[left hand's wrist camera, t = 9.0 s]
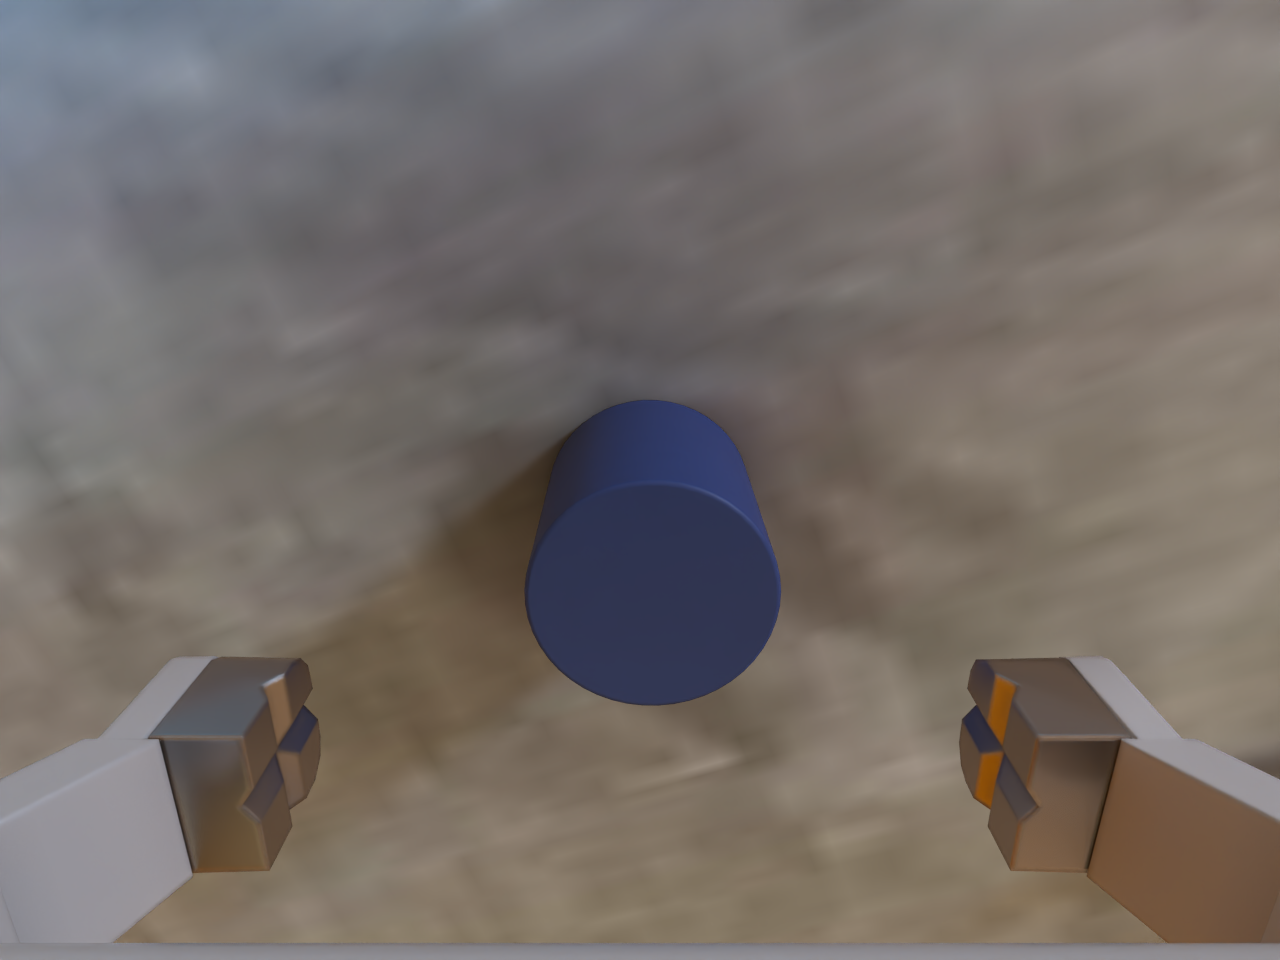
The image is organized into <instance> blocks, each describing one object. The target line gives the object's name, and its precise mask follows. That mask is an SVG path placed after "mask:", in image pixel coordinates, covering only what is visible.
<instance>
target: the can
mask: <svg viewBox="0 0 1280 960" xmlns="http://www.w3.org/2000/svg"><path fill="white" fill-rule="evenodd" d="M780 597H781V585H780V575H779V570H778V565H777V561H776V558H775V555H774V552H773V549H772V546H771V543H770V540H769V537H768V534H767V531H766V528H765V525H764V522H763V519H762V516H761V513H760V511H759V508H758V505H757V502H756V499H755V496H754V493H753V490H752V487H751V484H750V481H749V478H748V475H747V472H746V469H745V466H744V463H743V461H742V458H741V455H740V454H739V452H738V450H737V448H736V446H735V445H734V443H733V442H732V441H731V439H730V438H729V437H728V435H727V434H726V433H725V432H724V431H723V430H722V429H721V428H720V427H719V426H718V425H717V424H715V423H714V422H713V421H712V420H710V419H709V418H708V417H706V416H704V415H702V414H701V413H699V412H697V411H695V410H693V409H690V408H688V407H686V406H683V405H679V404H676V403H672V402H666V401H658V400H641V401H633V402H627V403H623V404H619V405H616V406H613V407H611V408H608V409H606V410H603V411H602V412H600V413H598V414H596V415H594V416H592V417H591V418H590V419H588V420H587V421H586V422H584V423H583V424H582V425H581V426H580V427H578V428H577V429H576V430H575V431H574V432H573V433H572V435H571V436H570V437H569V438H568V440H567V441H566V442H565V443H564V445H563V447H562V449H561V450H560V452H559V454H558V456H557V458H556V461H555V463H554V466H553V469H552V473H551V477H550V481H549V485H548V489H547V493H546V497H545V501H544V505H543V509H542V513H541V517H540V521H539V525H538V529H537V533H536V537H535V541H534V545H533V549H532V553H531V557H530V561H529V565H528V569H527V573H526V580H525V606H526V611H527V617H528V620H529V623H530V626H531V629H532V632H533V634H534V636H535V638H536V640H537V642H538V644H539V646H540V647H541V648H542V650H543V651H544V653H545V654H546V656H547V657H548V658H549V660H550V661H551V662H552V663H553V664H554V665H555V666H556V667H557V668H558V669H559V670H560V671H561V672H562V673H563V674H564V675H566V676H567V677H568V678H569V679H570V680H572V681H573V682H575V683H576V684H578V685H580V686H581V687H583V688H584V689H586V690H589V691H591V692H593V693H595V694H597V695H599V696H602V697H605V698H608V699H611V700H614V701H619V702H623V703H627V704H636V705H668V704H676V703H680V702H685V701H690V700H693V699H696V698H699V697H702V696H705V695H707V694H709V693H711V692H713V691H715V690H717V689H719V688H721V687H723V686H724V685H726V684H727V683H729V682H731V681H732V680H733V679H735V678H736V677H737V676H738V675H740V674H741V673H742V672H743V671H744V670H745V669H746V668H747V667H748V666H749V665H750V664H751V663H752V662H753V661H754V660H755V659H756V657H757V656H758V655H759V653H760V652H761V651H762V649H763V648H764V646H765V644H766V642H767V641H768V639H769V637H770V635H771V633H772V631H773V628H774V625H775V623H776V620H777V616H778V612H779V607H780Z"/></svg>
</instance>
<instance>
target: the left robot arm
mask: <svg viewBox="0 0 1280 960" xmlns="http://www.w3.org/2000/svg"><path fill="white" fill-rule="evenodd" d="M312 689H313V688H312V683H311V678H310V673H309V668H308V665H307V664H306V663H305V662H304V661H303V660H302V659H301V658H265V657H216V656H188V657H177V658H174V659H170V660H169V661H168V662H167V663H166V664H165V665H164V667H163V668H162V669H161V670H160V671H159V672H158V673H157V674H156V675H155V676H154V677H153V679H152V680H151V681H150V682H149V683H148V684H147V685H146V686H145V687H144V688H143V690H142V691H141V692H140V693H139V694H138V695H137V696H136V697H135V698H134V699H133V701H132V702H131V703H130V704H129V705H128V706H127V707H126V708H125V709H124V710H123V712H122V713H121V714H120V715H119V716H118V717H117V718H116V719H115V720H114V721H113V723H112V724H111V725H110V726H109V727H108V728H107V729H106V730H105V731H104V732H103V734H102V735H101V736H100V737H99V738H98V739H83V740H81V741H79V742H77V743H75V744H73V745H71V746H68V747H66V748H64V749H62V750H60V751H58V752H56V753H54V754H52V755H50V756H48V757H46V758H44V759H42V760H39V761H37V762H35V763H33V764H31V765H29V766H27V767H25V768H23V769H21V770H19V771H17V772H15V773H13V774H10V775H8V776H6V777H4V778H2V779H0V960H1280V779H1278V778H1276V777H1273V776H1271V775H1269V774H1267V773H1265V772H1263V771H1261V770H1259V769H1257V768H1255V767H1253V766H1251V765H1249V764H1247V763H1245V762H1242V761H1240V760H1238V759H1236V758H1234V757H1232V756H1230V755H1228V754H1226V753H1224V752H1222V751H1220V750H1218V749H1216V748H1214V747H1212V746H1209V745H1207V744H1205V743H1203V742H1201V741H1199V740H1197V739H1182V738H1181V737H1180V736H1179V735H1178V734H1177V732H1176V731H1175V730H1174V729H1173V728H1172V727H1171V726H1170V725H1169V724H1168V723H1167V721H1166V720H1165V719H1164V718H1163V717H1162V716H1161V715H1160V714H1159V713H1158V712H1157V710H1156V709H1155V708H1154V707H1153V706H1152V705H1151V704H1150V703H1149V702H1148V701H1147V699H1146V698H1145V697H1144V696H1143V695H1142V694H1141V693H1140V692H1139V691H1138V690H1137V688H1136V687H1135V686H1134V685H1133V684H1132V683H1131V682H1130V681H1129V680H1128V679H1127V677H1126V676H1125V675H1124V674H1123V673H1122V672H1121V671H1120V670H1119V669H1118V668H1117V666H1116V665H1115V664H1114V663H1113V662H1112V661H1111V660H1109V659H1107V658H1104V657H1102V656H1081V657H1059V658H1025V659H977V660H976V661H975V663H974V665H973V667H972V669H971V671H970V677H969V682H968V687H967V689H968V691H969V692H970V694H971V696H972V698H973V699H974V701H975V703H976V704H977V705H976V706H975V707H974V708H973V709H972V710H971V711H970V712H969V713H968V714H967V715H966V716H965V717H964V718H963V719H962V724H961V732H960V740H959V747H960V759H961V767H962V770H963V774H964V777H965V781H966V783H967V785H968V788H969V790H970V792H971V794H972V796H973V798H974V799H976V800H977V801H979V802H980V803H982V804H983V805H984V806H986V807H987V808H989V809H990V816H989V822H988V828H989V830H990V832H991V834H992V835H993V837H994V839H995V841H996V843H997V845H998V847H999V849H1000V851H1001V853H1002V855H1003V857H1004V859H1005V861H1006V863H1007V865H1008V867H1009V869H1010V870H1011V871H1041V872H1077V873H1087V877H1088V878H1089V879H1091V880H1092V881H1093V882H1094V883H1096V884H1097V885H1098V886H1099V887H1100V888H1102V889H1103V890H1104V891H1105V892H1107V893H1108V894H1109V895H1110V896H1111V897H1113V898H1114V899H1115V900H1116V901H1117V902H1119V903H1120V904H1121V905H1122V906H1124V907H1125V908H1126V909H1127V910H1128V911H1130V912H1131V913H1132V914H1133V915H1134V916H1136V917H1137V918H1138V919H1139V920H1141V921H1142V922H1143V923H1144V924H1145V925H1147V926H1148V927H1149V928H1150V929H1151V930H1153V931H1154V932H1155V933H1156V934H1158V935H1159V936H1160V937H1161V938H1162V939H1164V940H1165V941H1166V942H1167V943H113V942H114V941H115V940H117V939H118V938H119V937H120V936H122V935H123V934H124V933H125V932H126V931H128V930H129V929H130V928H131V927H132V926H134V925H135V924H136V923H137V922H139V921H140V920H141V919H142V918H143V917H145V916H146V915H147V914H148V913H150V912H151V911H152V910H153V909H154V908H156V907H157V906H158V905H159V904H160V903H162V902H163V901H164V900H165V899H167V898H168V897H169V896H170V895H171V894H173V893H174V892H175V891H176V890H178V889H179V888H180V887H181V886H182V885H184V884H185V883H186V882H187V881H188V880H190V879H191V878H192V877H193V874H192V873H202V872H237V871H270V869H271V867H272V865H273V863H274V861H275V859H276V857H277V855H278V853H279V851H280V849H281V847H282V845H283V843H284V841H285V839H286V837H287V836H288V834H289V832H290V830H291V828H292V822H291V816H290V809H291V808H293V807H294V806H296V805H297V804H298V803H300V802H301V801H303V800H304V799H306V798H307V796H308V794H309V792H310V790H311V787H312V785H313V783H314V781H315V778H316V773H317V769H318V764H319V760H320V730H319V724H318V719H317V718H316V717H315V716H314V715H313V714H312V713H311V712H310V711H309V710H308V709H307V708H306V707H305V706H304V705H303V704H304V703H305V701H306V699H307V698H308V696H309V694H310V692H311V691H312Z"/></svg>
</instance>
